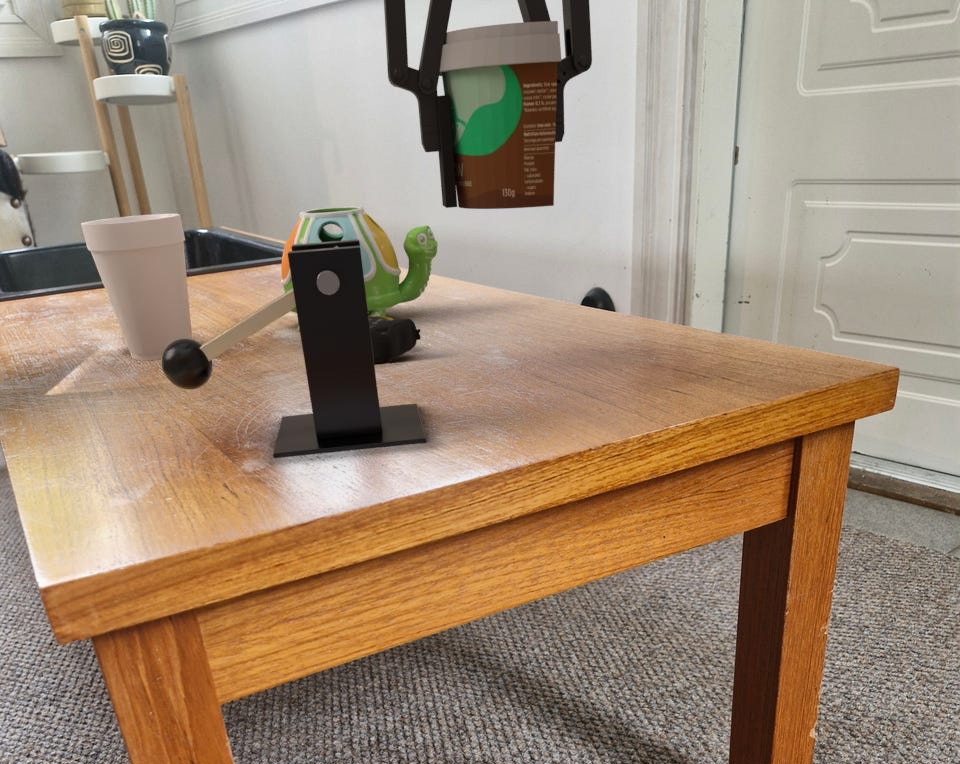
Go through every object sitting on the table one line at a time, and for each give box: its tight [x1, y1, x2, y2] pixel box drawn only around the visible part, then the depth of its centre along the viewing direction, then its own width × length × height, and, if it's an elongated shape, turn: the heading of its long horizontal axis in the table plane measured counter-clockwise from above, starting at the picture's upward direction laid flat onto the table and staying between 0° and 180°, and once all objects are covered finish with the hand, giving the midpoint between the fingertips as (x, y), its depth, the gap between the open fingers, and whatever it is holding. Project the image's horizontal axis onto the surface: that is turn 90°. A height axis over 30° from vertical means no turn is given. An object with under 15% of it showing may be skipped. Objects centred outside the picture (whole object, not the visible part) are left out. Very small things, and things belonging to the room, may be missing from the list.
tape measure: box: [369, 316, 421, 364], centre depth 84 cm, size 7×7×4 cm
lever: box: [161, 246, 338, 390], centre depth 58 cm, size 14×3×3 cm, turn 98°
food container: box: [439, 20, 562, 210], centre depth 60 cm, size 12×6×10 cm, turn 18°
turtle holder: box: [280, 205, 438, 333], centre depth 101 cm, size 12×18×12 cm
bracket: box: [272, 239, 427, 459], centre depth 60 cm, size 10×9×13 cm
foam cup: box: [80, 213, 193, 361], centre depth 92 cm, size 10×9×13 cm
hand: (495, 201), depth 62 cm, fingers closed on food container, 6 cm apart
